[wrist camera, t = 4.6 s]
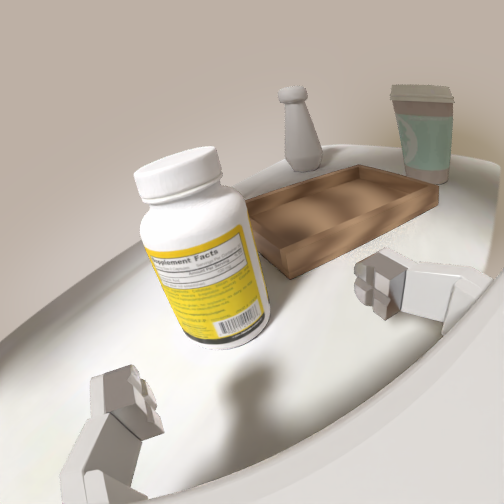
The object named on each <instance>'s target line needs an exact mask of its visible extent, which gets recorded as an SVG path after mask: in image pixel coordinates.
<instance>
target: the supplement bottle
mask: <svg viewBox="0 0 504 504" xmlns="http://www.w3.org/2000/svg"><path fill="white" fill-rule="evenodd" d="M222 176H223V173H222V172H221V164H220V161H219V157H218V154H217V150H216V148H215V147H213V146H207V147H200V148H194V149H190V150H186V151H183V152H179V153H176V154H173V155H170V156H167V157H164V158H162V159H159V160H156V161H154V162H152V163H150V164H147V165H145V166H143V167H142V168H140V169H138V170H137V171H136V172H135V173H134V178H135V181H136V184H137V187H138V191H139V194H140V196H141V197H142V201H143V202H144V203H147V204H149V206H150V210H149V211H148V212H147V213H146V214H145V216H144V217H143V219H142V221H141V225H140V235H141V239H142V242H143V245H144V247H145V250H146V252H147V254H148V257H149V259H150V261H151V263H152V266H153V268H154V270H155V272H156V275H157V277H158V279H159V281H160V283H161V286H162V288H163V290H164V292H165V294H166V297H167V299H168V301H169V303H170V305H171V307H172V309H173V311H174V313H175V315H176V317H177V319H178V321H179V323H180V325H181V327H182V329H183V331H184V332H185V334H186V336H187V337H188V338H189V340H190V341H192V342H193V343H194V344H196V345H198V346H200V347H202V348H206V349H211V350H224V349H230V348H234V347H237V346H240V345H242V344H245V343H246V342H248V341H250V340H252V339H253V338H254V337H256V336H257V335H258V334H259V333H260V332H261V331H262V330H263V328H264V327H265V325H266V324H267V322H268V319H269V316H270V302H269V297H268V293H267V289H266V284H265V280H264V276H263V272H262V268H261V264H260V259H259V255H258V251H257V247H256V243H255V239H254V235H253V231H252V226H251V222H250V218H249V214H248V210H247V207H246V203H245V200H244V198H243V196H242V195H241V194H240V193H239V192H238V191H237V190H235V189H233V188H231V187H228V186H222V185H221V184H220V179H221V178H222Z"/></svg>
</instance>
